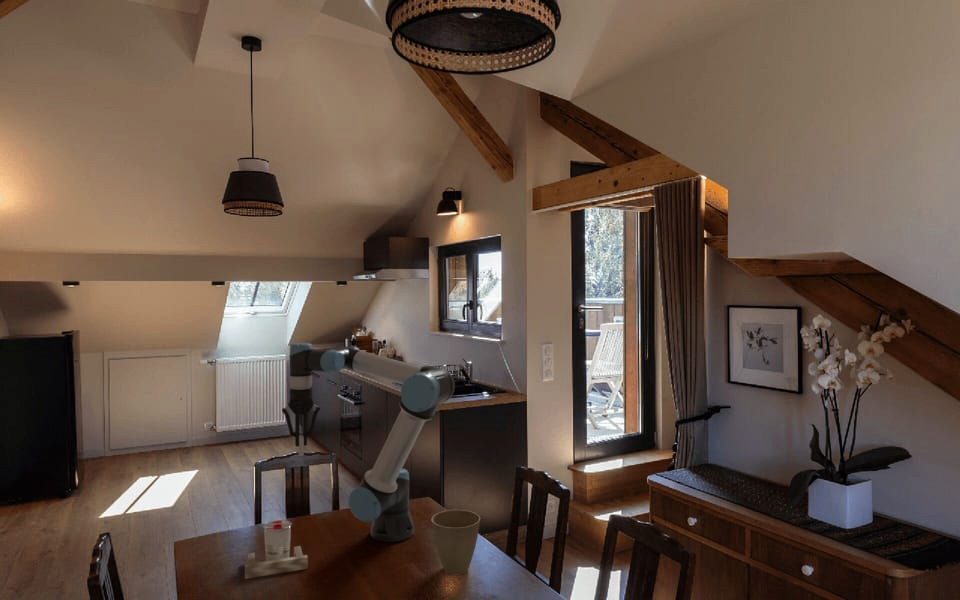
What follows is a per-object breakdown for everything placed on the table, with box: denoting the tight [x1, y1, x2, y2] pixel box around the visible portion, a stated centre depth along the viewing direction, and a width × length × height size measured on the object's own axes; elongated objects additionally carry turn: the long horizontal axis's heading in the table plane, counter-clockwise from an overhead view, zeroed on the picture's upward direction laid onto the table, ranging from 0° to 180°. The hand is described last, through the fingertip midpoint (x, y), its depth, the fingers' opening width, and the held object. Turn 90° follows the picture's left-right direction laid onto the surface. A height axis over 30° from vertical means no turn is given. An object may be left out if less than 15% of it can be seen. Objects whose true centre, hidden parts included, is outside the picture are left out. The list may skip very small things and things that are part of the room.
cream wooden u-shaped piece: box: [244, 545, 309, 580], centre depth 192 cm, size 18×11×4 cm, turn 112°
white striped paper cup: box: [262, 519, 294, 561], centre depth 194 cm, size 10×8×12 cm
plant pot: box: [431, 509, 481, 575], centre depth 189 cm, size 15×15×16 cm
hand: (301, 455), depth 215 cm, fingers closed
